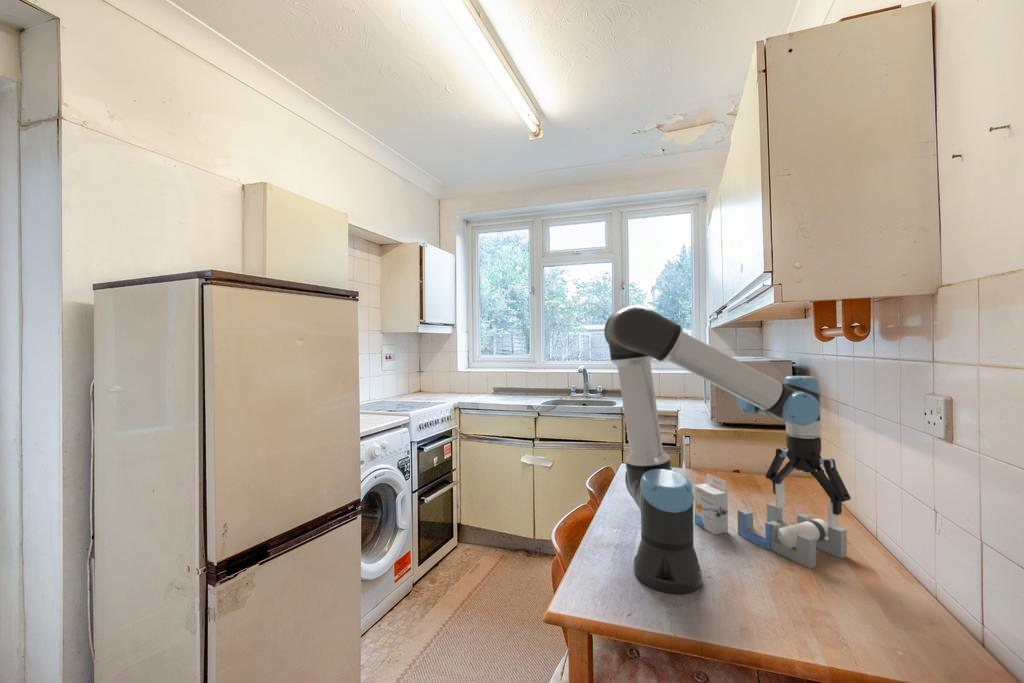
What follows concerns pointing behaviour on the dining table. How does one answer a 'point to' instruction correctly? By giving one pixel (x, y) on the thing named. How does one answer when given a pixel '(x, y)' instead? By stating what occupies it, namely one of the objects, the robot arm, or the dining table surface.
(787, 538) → the banded white cylinder
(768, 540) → the bracket
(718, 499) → the ink box
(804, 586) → the dining table surface
